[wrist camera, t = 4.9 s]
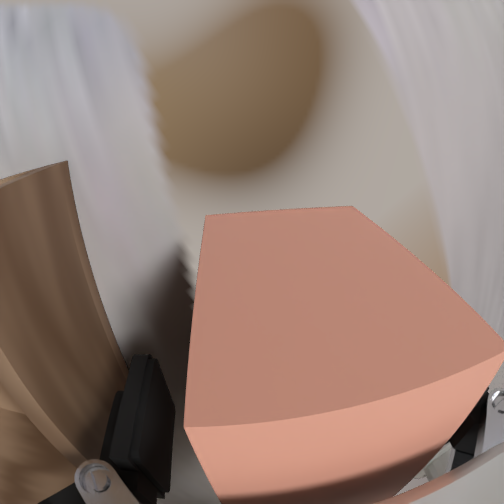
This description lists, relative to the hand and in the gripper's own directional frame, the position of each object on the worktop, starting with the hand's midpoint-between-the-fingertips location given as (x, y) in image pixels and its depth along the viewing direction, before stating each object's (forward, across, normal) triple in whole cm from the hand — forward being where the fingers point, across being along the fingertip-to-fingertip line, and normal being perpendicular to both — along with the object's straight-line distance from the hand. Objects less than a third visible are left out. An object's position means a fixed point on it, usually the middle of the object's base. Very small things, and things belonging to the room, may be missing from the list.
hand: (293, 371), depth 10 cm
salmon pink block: (+2, 0, 0) cm, 2 cm away
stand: (+2, +15, 0) cm, 15 cm away
